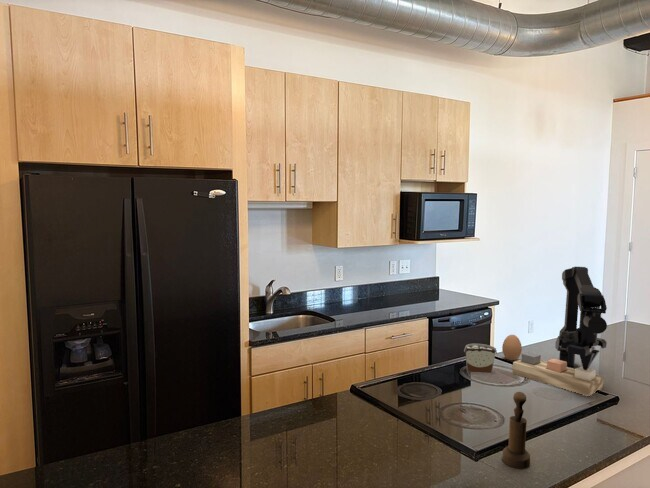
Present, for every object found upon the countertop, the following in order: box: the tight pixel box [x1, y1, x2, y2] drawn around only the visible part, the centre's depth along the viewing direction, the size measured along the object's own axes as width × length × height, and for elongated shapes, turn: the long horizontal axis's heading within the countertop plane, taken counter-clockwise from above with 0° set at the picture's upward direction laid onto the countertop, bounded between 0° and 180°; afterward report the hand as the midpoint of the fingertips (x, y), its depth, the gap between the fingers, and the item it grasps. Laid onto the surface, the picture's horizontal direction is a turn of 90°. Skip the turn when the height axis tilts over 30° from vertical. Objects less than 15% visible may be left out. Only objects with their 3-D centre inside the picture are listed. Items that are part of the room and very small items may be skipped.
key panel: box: [511, 358, 605, 396], centre depth 181 cm, size 12×28×4 cm, turn 39°
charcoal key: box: [521, 351, 542, 365], centre depth 188 cm, size 5×5×3 cm
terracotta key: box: [547, 358, 567, 372], centre depth 180 cm, size 5×5×3 cm
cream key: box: [574, 366, 597, 381], centre depth 173 cm, size 5×5×3 cm
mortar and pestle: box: [501, 391, 531, 469], centre depth 122 cm, size 7×6×18 cm
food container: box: [463, 343, 498, 375], centre depth 190 cm, size 12×6×10 cm, turn 84°
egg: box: [501, 334, 523, 362], centre depth 204 cm, size 8×8×11 cm
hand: (585, 369), depth 172 cm, fingers closed, pressing on cream key
